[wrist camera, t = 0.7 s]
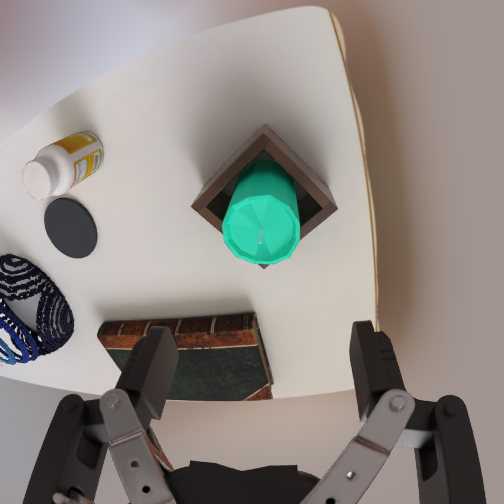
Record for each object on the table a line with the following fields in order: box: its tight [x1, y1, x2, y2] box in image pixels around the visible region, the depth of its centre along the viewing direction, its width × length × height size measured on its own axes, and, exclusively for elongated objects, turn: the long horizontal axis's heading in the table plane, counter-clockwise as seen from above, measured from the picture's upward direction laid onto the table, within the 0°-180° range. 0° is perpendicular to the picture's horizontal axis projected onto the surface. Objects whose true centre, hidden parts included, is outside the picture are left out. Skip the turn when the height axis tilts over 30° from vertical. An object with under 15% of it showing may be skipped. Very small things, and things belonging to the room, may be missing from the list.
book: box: [97, 313, 274, 401], centre depth 46 cm, size 17×4×25 cm
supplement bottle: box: [22, 132, 103, 200], centre depth 27 cm, size 5×5×10 cm
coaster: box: [44, 198, 97, 258], centre depth 37 cm, size 9×9×1 cm
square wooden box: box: [191, 124, 338, 269], centre depth 30 cm, size 10×10×6 cm
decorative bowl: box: [0, 254, 74, 367], centre depth 40 cm, size 20×20×14 cm
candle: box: [222, 160, 300, 264], centre depth 27 cm, size 6×6×12 cm
